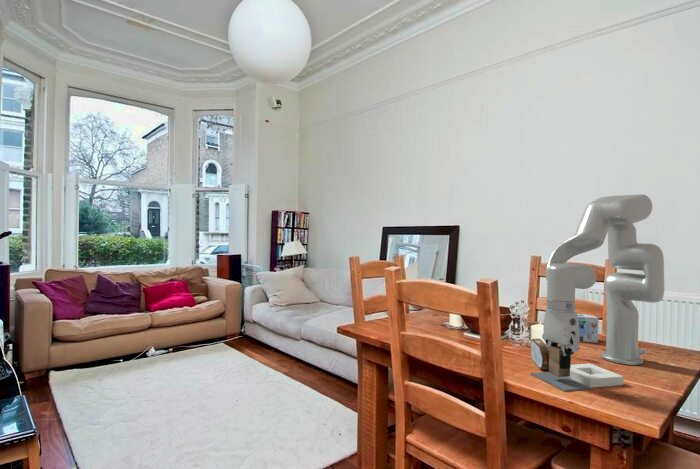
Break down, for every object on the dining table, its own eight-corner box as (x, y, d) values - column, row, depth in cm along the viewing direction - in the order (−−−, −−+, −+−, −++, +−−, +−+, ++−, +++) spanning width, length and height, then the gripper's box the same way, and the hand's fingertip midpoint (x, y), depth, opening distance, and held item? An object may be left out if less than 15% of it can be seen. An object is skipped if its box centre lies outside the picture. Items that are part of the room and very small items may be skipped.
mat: (554, 372, 127) (554, 371, 127) (590, 389, 113) (590, 387, 113) (530, 374, 125) (530, 373, 125) (564, 391, 111) (564, 390, 111)
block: (559, 371, 121) (560, 345, 121) (569, 376, 117) (570, 349, 117) (548, 372, 120) (549, 346, 120) (558, 377, 116) (559, 350, 117)
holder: (589, 371, 129) (590, 363, 129) (623, 384, 117) (623, 376, 117) (559, 373, 126) (559, 365, 126) (590, 387, 114) (590, 379, 114)
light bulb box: (571, 341, 167) (571, 316, 167) (565, 337, 173) (565, 313, 173) (598, 342, 165) (599, 317, 165) (591, 338, 171) (591, 314, 172)
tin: (551, 373, 126) (551, 347, 126) (540, 372, 127) (541, 346, 127) (538, 359, 141) (538, 335, 141) (529, 358, 141) (529, 335, 141)
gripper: (593, 310, 112) (592, 374, 112) (550, 301, 128) (549, 356, 128) (571, 311, 110) (570, 376, 110) (531, 301, 126) (529, 358, 126)
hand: (559, 365), depth 119 cm, fingers closed on block, 4 cm apart
